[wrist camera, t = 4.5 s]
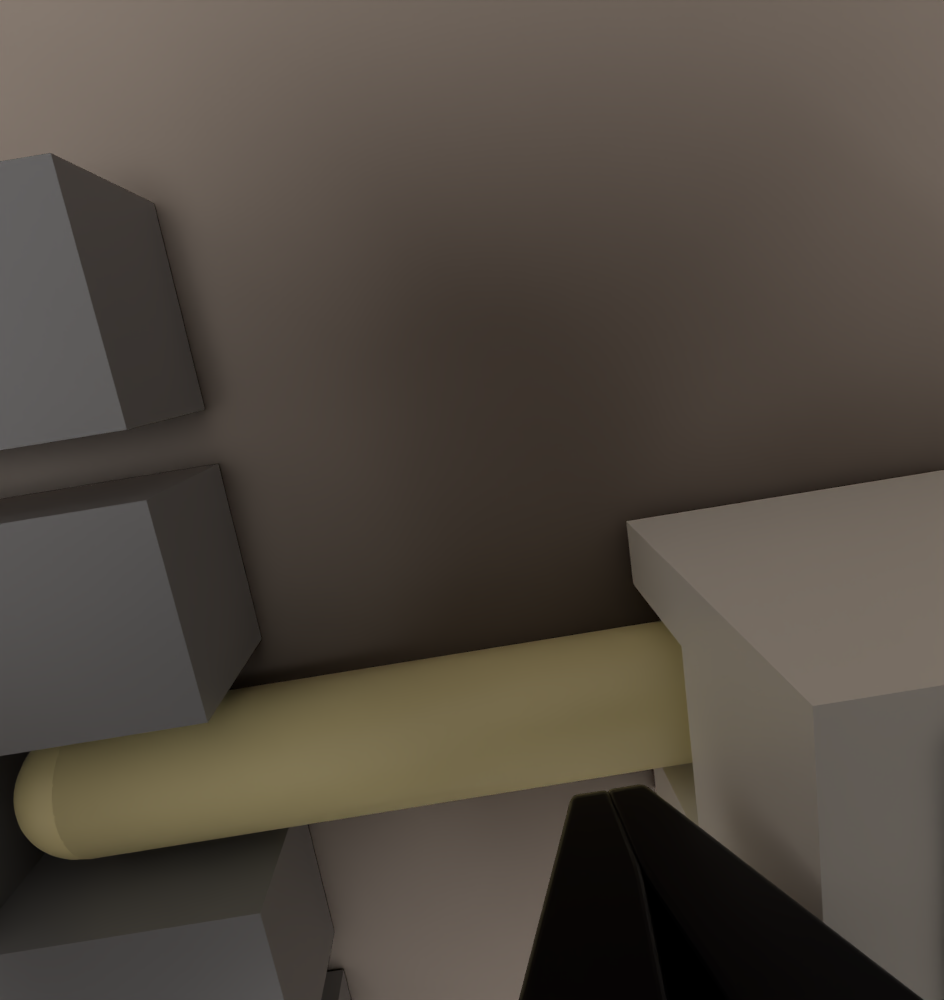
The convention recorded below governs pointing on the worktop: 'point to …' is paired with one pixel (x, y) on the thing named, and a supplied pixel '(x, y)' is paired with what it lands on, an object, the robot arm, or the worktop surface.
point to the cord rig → (212, 667)
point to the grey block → (817, 700)
